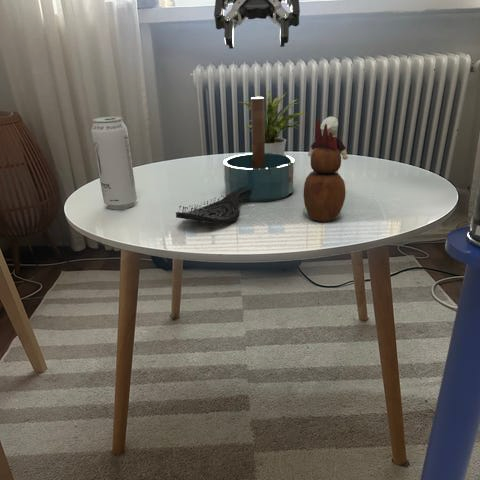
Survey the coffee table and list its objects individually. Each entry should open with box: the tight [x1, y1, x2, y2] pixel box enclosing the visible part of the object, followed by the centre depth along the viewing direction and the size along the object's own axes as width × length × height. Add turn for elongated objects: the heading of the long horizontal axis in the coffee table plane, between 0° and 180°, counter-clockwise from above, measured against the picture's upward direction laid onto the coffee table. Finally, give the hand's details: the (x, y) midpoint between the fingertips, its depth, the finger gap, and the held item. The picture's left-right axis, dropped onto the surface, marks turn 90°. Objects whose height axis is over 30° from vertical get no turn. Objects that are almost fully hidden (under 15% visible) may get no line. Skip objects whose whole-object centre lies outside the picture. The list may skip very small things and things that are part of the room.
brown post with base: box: [250, 96, 265, 169], centre depth 92 cm, size 5×5×16 cm
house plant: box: [239, 89, 307, 155], centre depth 106 cm, size 14×14×16 cm
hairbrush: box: [175, 188, 251, 226], centre depth 85 cm, size 8×4×25 cm
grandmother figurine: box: [307, 115, 349, 174], centre depth 95 cm, size 8×4×13 cm, turn 80°
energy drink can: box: [90, 116, 138, 211], centre depth 87 cm, size 6×6×15 cm
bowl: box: [222, 153, 295, 203], centre depth 94 cm, size 13×13×6 cm
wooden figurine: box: [302, 119, 346, 222], centre depth 77 cm, size 7×6×15 cm
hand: (256, 43), depth 81 cm, fingers open, 8 cm apart
